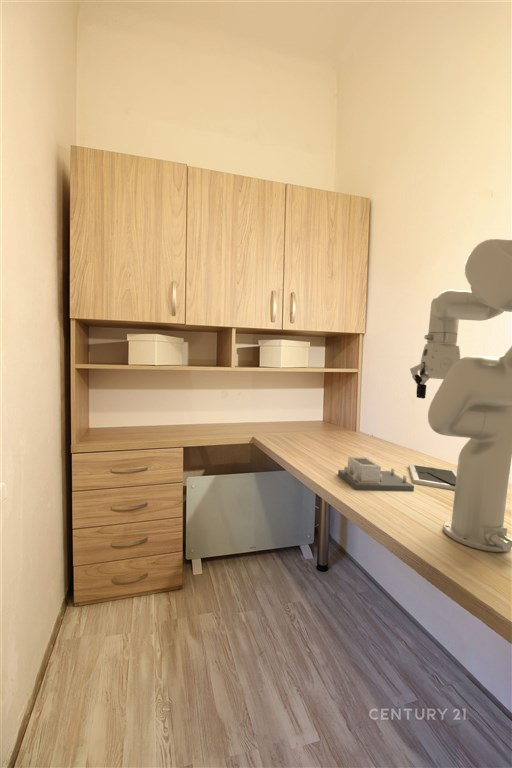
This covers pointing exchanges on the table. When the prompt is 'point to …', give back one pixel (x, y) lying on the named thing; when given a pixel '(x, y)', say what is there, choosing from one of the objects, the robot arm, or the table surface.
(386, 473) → the tray
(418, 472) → the picture frame
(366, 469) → the block
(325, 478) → the table surface
